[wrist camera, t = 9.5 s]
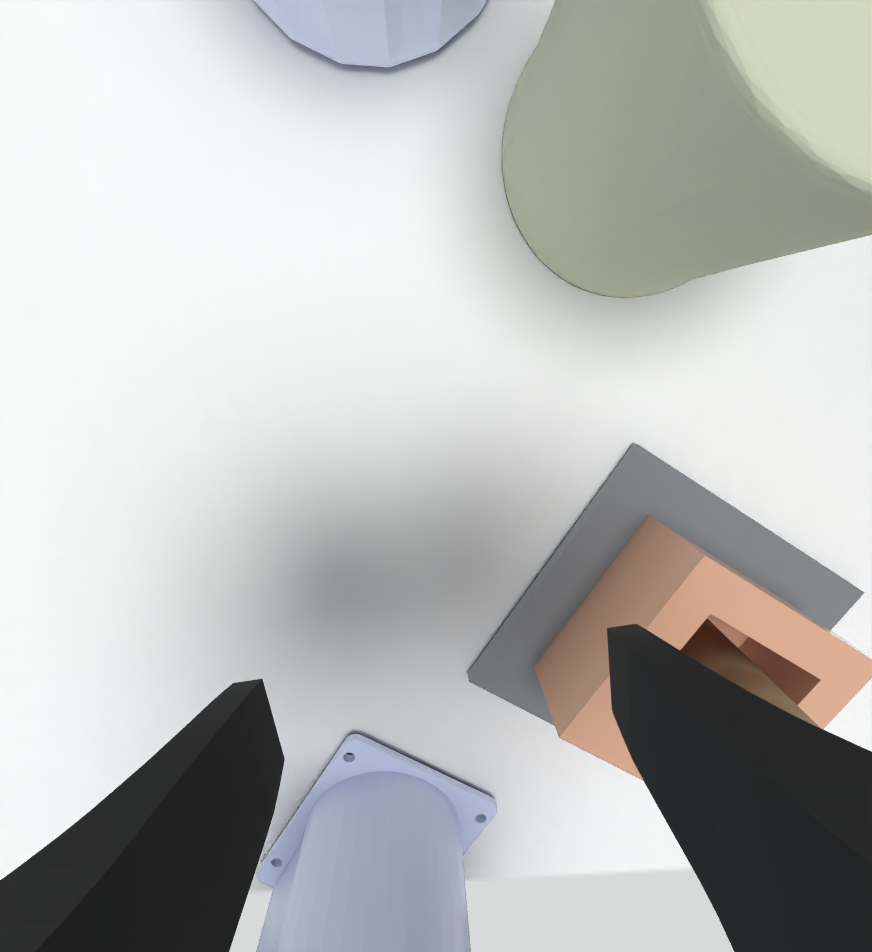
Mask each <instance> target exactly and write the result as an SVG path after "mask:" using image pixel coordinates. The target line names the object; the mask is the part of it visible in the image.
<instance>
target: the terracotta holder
mask: <svg viewBox="0 0 872 952" xmlns="http://www.w3.org/2000/svg"><path fill="white" fill-rule="evenodd" d="M863 594H864V592H863V591H861V590H860V589H858V588H857V587H855V586H854V585H852V584H851V583H849V582H848V581H846V580H844V579H843V578H841V577H840V576H838V575H837V574H835V573H834V572H832V571H831V570H829V569H828V568H826V567H825V566H823V565H821V564H820V563H818V562H817V561H815V560H814V559H812V558H811V557H809V556H808V555H806V554H805V553H803V552H802V551H800V550H798V549H797V548H795V547H794V546H792V545H791V544H789V543H788V542H786V541H785V540H783V539H782V538H780V537H779V536H777V535H776V534H774V533H772V532H771V531H769V530H768V529H766V528H765V527H763V526H762V525H760V524H759V523H757V522H756V521H754V520H753V519H751V518H749V517H748V516H746V515H745V514H743V513H742V512H740V511H739V510H737V509H736V508H734V507H733V506H731V505H730V504H728V503H726V502H725V501H723V500H722V499H720V498H719V497H717V496H716V495H714V494H713V493H711V492H710V491H708V490H707V489H705V488H703V487H702V486H700V485H699V484H697V483H696V482H694V481H693V480H691V479H690V478H688V477H687V476H685V475H684V474H682V473H680V472H679V471H677V470H676V469H674V468H673V467H671V466H670V465H668V464H667V463H665V462H664V461H662V460H661V459H659V458H658V457H656V456H654V455H653V454H651V453H650V452H648V451H647V450H645V449H644V448H642V447H641V446H639V445H637V444H634V443H633V444H632V445H631V447H630V448H629V450H628V451H627V452H626V454H625V455H624V456H623V458H622V459H621V461H620V462H619V463H618V465H617V466H616V468H615V469H614V470H613V472H612V473H611V474H610V476H609V477H608V479H607V480H606V481H605V483H604V484H603V486H602V487H601V488H600V490H599V491H598V493H597V494H596V495H595V497H594V498H593V499H592V501H591V502H590V504H589V505H588V506H587V508H586V509H585V511H584V512H583V513H582V515H581V516H580V517H579V519H578V520H577V522H576V523H575V524H574V526H573V527H572V529H571V530H570V531H569V533H568V534H567V536H566V537H565V538H564V540H563V541H562V542H561V544H560V545H559V547H558V548H557V549H556V551H555V552H554V554H553V555H552V556H551V558H550V559H549V561H548V562H547V563H546V565H545V566H544V567H543V569H542V570H541V572H540V573H539V574H538V576H537V577H536V579H535V580H534V581H533V583H532V584H531V585H530V587H529V588H528V590H527V591H526V592H525V594H524V595H523V597H522V598H521V599H520V601H519V602H518V604H517V605H516V606H515V608H514V609H513V610H512V612H511V613H510V615H509V616H508V617H507V619H506V620H505V622H504V623H503V624H502V626H501V627H500V628H499V630H498V631H497V633H496V634H495V635H494V637H493V638H492V640H491V641H490V642H489V644H488V645H487V647H486V648H485V649H484V651H483V652H482V653H481V655H480V656H479V658H478V659H477V660H476V662H475V663H474V665H473V666H472V667H471V669H470V670H469V671H468V677H469V682H471V683H473V684H475V685H477V686H479V687H481V688H483V689H485V690H487V691H489V692H491V693H493V694H494V695H496V696H498V697H500V698H502V699H504V700H506V701H508V702H510V703H512V704H514V705H516V706H518V707H520V708H522V709H524V710H525V711H527V712H529V713H531V714H533V715H535V716H537V717H539V718H541V719H543V720H545V721H547V722H549V723H551V724H553V725H555V727H556V730H557V733H558V736H559V738H561V739H563V740H565V741H567V742H569V743H571V744H573V745H575V746H577V747H579V748H580V749H582V750H584V751H586V752H588V753H590V754H592V755H594V756H596V757H598V758H600V759H602V760H604V761H606V762H608V763H610V764H612V765H614V766H616V767H618V768H620V769H621V770H623V771H625V772H627V773H629V774H631V775H633V776H635V777H637V778H639V779H641V780H643V778H642V777H641V775H640V773H639V771H638V769H637V767H636V766H635V764H634V762H633V760H632V758H631V755H630V753H629V751H628V749H627V746H626V744H625V742H624V739H623V737H622V734H621V732H620V730H619V727H618V725H617V722H616V720H615V717H614V715H613V712H612V704H611V688H610V672H609V656H608V640H607V628H610V627H617V626H624V625H630V624H638V625H639V626H641V627H643V628H645V629H646V630H648V631H650V632H651V633H653V634H654V635H656V636H658V637H659V638H661V639H662V640H664V641H666V642H667V643H669V644H670V645H672V646H674V647H675V648H677V649H678V650H681V649H682V648H683V646H684V645H685V644H686V643H687V642H688V640H689V639H690V638H691V637H692V636H693V634H694V633H695V632H696V631H697V629H698V628H699V627H700V626H701V625H702V623H703V622H704V621H705V620H706V619H707V618H708V619H709V620H710V621H711V622H712V623H713V624H714V625H715V626H716V627H717V628H718V629H719V630H720V631H721V632H722V633H723V634H724V635H725V636H726V637H727V638H728V639H729V640H730V641H731V642H732V643H733V644H734V645H735V646H737V647H738V648H739V649H740V650H741V651H742V652H743V653H744V654H745V655H746V656H747V657H748V658H749V659H750V660H751V661H752V662H753V663H754V664H755V665H756V666H757V667H758V668H759V669H760V670H761V671H762V672H763V673H764V674H765V675H766V676H767V677H769V678H770V679H771V680H772V681H773V682H774V683H775V684H776V685H777V686H778V687H779V688H780V689H781V690H782V691H783V692H784V693H785V694H786V695H787V696H788V697H789V698H790V699H791V700H792V701H793V702H794V703H795V704H796V705H797V706H798V707H799V708H801V709H802V710H803V711H804V712H805V713H806V714H807V715H808V716H809V717H810V718H811V719H812V720H813V721H814V722H815V723H816V724H817V725H818V726H819V727H820V728H821V729H824V728H825V727H826V726H827V725H828V724H829V722H830V721H831V720H832V719H833V718H834V717H835V716H836V715H837V714H838V713H839V712H840V711H841V710H842V709H843V708H844V707H845V706H846V704H847V703H848V702H849V701H850V700H851V699H852V698H853V697H854V696H855V695H856V694H857V693H858V692H859V691H860V690H861V689H862V688H863V687H864V685H865V684H866V683H867V682H868V681H869V680H870V679H871V678H872V659H871V658H870V657H868V656H867V655H865V654H864V653H863V652H861V651H860V650H858V649H857V648H855V647H854V646H852V645H851V644H849V643H848V642H847V641H845V640H844V639H842V638H841V637H839V636H838V635H836V634H835V633H833V632H832V631H831V629H832V628H833V627H834V626H835V625H836V624H837V623H838V621H839V620H840V619H841V618H842V617H843V616H844V615H845V614H846V613H847V611H848V610H849V609H850V608H851V607H852V606H853V605H854V604H855V603H856V601H857V600H858V599H859V598H860V597H861V596H862V595H863ZM643 781H644V780H643Z"/></svg>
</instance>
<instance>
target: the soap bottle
mask: <svg viewBox="0 0 872 952" xmlns="http://www.w3.org/2000/svg"><path fill="white" fill-rule="evenodd" d="M486 1H487V0H254V2H255V3H256V4H257V5H258V6H259V7H260V8H261V9H262V10H263V11H264V12H265V13H266V14H267V15H268V16H269V17H270V18H271V19H272V20H273V21H274V22H275V23H276V24H277V25H278V26H279V27H280V29H281V30H282V31H283V32H284V33H285V34H286V35H287V36H288V37H289V38H290V39H292V40H294V41H296V42H298V43H300V44H302V45H304V46H306V47H308V48H310V49H312V50H314V51H316V52H318V53H320V54H322V55H324V56H326V57H328V58H330V59H332V60H334V61H336V62H338V63H340V64H351V65H364V66H378V67H393V66H396V65H398V64H401V63H404V62H407V61H410V60H413V59H415V58H418V57H421V56H424V55H427V54H430V53H432V52H435V51H437V50H439V49H440V48H441V47H442V46H443V45H445V44H446V43H447V42H448V41H449V40H450V39H451V38H452V37H454V36H455V35H456V34H457V33H458V32H459V31H460V30H461V29H463V28H464V27H465V26H466V25H467V24H468V23H469V22H470V21H472V20H473V19H474V18H475V17H476V16H477V15H478V14H479V13H480V12H481V10H482V8H483V6H484V5H485V3H486Z"/></svg>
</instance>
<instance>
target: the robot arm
mask: <svg viewBox="0 0 872 952" xmlns="http://www.w3.org/2000/svg"><path fill="white" fill-rule="evenodd" d="M607 640H608V656H609V672H610V688H611V704H612V712H613V715H614V717H615V720H616V722H617V725H618V727H619V730H620V732H621V734H622V737H623V739H624V742H625V744H626V746H627V749H628V751H629V753H630V755H631V758H632V760H633V762H634V764H635V766H636V767H637V769H638V771H639V773H640V775H641V777H642V778H643V780H644V782H645V784H646V786H647V787H648V789H649V791H650V793H651V795H652V797H653V798H654V800H655V802H656V804H657V805H658V807H659V809H660V811H661V813H662V814H663V816H664V818H665V820H666V822H667V823H668V825H669V827H670V829H671V830H672V832H673V834H674V836H675V838H676V839H677V841H678V843H679V845H680V846H681V848H682V850H683V852H684V854H685V855H686V857H687V859H688V861H689V863H690V864H691V866H692V868H693V870H694V871H695V873H696V875H697V877H698V879H699V880H700V882H701V884H702V886H703V888H704V890H705V892H706V894H707V895H708V898H709V899H710V901H711V903H712V905H713V907H714V909H715V911H716V913H717V915H718V917H719V919H720V922H721V924H722V926H723V928H724V930H725V932H726V935H727V937H728V939H729V941H730V943H731V945H732V947H733V950H734V952H872V752H871V751H869V750H866V749H864V748H862V747H860V746H858V745H855V744H853V743H851V742H849V741H847V740H845V739H842V738H840V737H838V736H836V735H834V734H831V733H829V732H827V731H825V730H823V729H821V728H818V727H816V726H814V725H812V724H810V723H808V722H806V721H804V720H802V719H800V718H798V717H796V716H794V715H792V714H790V713H788V712H786V711H784V710H782V709H781V708H779V707H777V706H775V705H773V704H771V703H769V702H768V701H766V700H764V699H762V698H760V697H758V696H756V695H754V694H753V693H751V692H749V691H747V690H745V689H744V688H742V687H740V686H738V685H737V684H735V683H733V682H731V681H730V680H728V679H726V678H724V677H723V676H721V675H719V674H718V673H716V672H714V671H713V670H711V669H709V668H708V667H706V666H704V665H703V664H701V663H699V662H698V661H696V660H694V659H693V658H691V657H690V656H688V655H686V654H685V653H683V652H682V651H680V650H678V649H677V648H675V647H674V646H672V645H670V644H669V643H667V642H666V641H664V640H662V639H661V638H659V637H658V636H656V635H654V634H653V633H651V632H650V631H648V630H646V629H645V628H643V627H641V626H639V625H638V624H630V625H624V626H617V627H610V628H607ZM346 753H353V755H347V754H346ZM283 765H284V755H283V752H282V748H281V745H280V741H279V737H278V734H277V730H276V726H275V723H274V719H273V716H272V712H271V708H270V705H269V701H268V698H267V694H266V690H265V687H264V683H263V680H262V679H258V680H251V681H245V682H238V683H233V684H232V685H231V686H229V687H228V688H227V689H226V690H224V691H223V692H222V693H221V694H220V695H219V696H218V697H217V698H215V699H214V700H213V701H212V702H211V703H210V704H209V705H208V706H207V707H206V708H205V709H203V710H202V711H201V712H200V713H199V714H198V715H197V716H196V717H195V718H194V719H193V720H192V721H191V722H190V723H188V724H187V725H186V726H185V727H184V728H183V729H182V730H181V731H180V732H179V733H178V734H177V735H176V736H174V737H173V738H172V739H171V740H170V741H169V742H168V743H167V744H166V745H165V746H164V747H163V748H161V749H160V750H159V751H158V752H157V753H156V754H155V755H154V756H153V757H152V758H151V759H150V760H148V761H147V762H146V763H145V764H144V765H143V766H142V767H140V768H139V769H138V770H137V771H136V772H135V773H134V774H132V775H131V776H130V777H129V778H128V779H127V780H125V781H124V782H123V783H122V784H121V785H120V786H119V787H117V788H116V789H115V790H114V791H113V792H112V793H110V794H109V795H108V796H107V797H106V798H105V799H104V800H102V801H101V802H100V803H99V804H98V805H97V806H95V807H94V808H93V809H92V810H91V811H90V812H88V813H87V814H86V815H85V816H83V817H82V818H81V819H80V820H79V821H77V822H76V823H75V824H74V825H72V826H71V827H70V828H69V829H67V830H66V831H65V832H64V833H62V834H61V835H60V836H59V837H57V838H56V839H55V840H53V841H52V842H51V843H49V844H48V845H47V846H46V847H44V848H43V849H42V850H40V851H39V852H38V853H36V854H35V855H34V856H32V857H31V858H30V859H29V860H27V861H26V862H25V863H23V864H22V865H21V866H19V867H18V868H17V869H15V870H14V871H13V872H11V873H10V874H8V875H7V876H6V877H4V878H3V879H1V880H0V952H229V950H230V947H231V943H232V941H233V938H234V935H235V931H236V928H237V925H238V922H239V919H240V916H241V913H242V910H243V907H244V904H245V901H246V897H247V895H248V892H249V889H250V886H251V883H252V880H253V876H254V873H255V870H256V867H257V864H258V861H259V858H260V855H261V852H262V849H263V846H264V842H265V839H266V836H267V833H268V830H269V827H270V824H271V820H272V817H273V814H274V810H275V805H276V800H277V796H278V791H279V786H280V781H281V775H282V770H283ZM496 812H497V805H496V801H495V799H493V798H492V797H490V796H488V795H486V794H484V793H482V792H480V791H478V790H476V789H474V788H471V787H469V786H467V785H465V784H463V783H461V782H459V781H457V780H455V779H452V778H450V777H448V776H446V775H444V774H442V773H440V772H438V771H436V770H433V769H431V768H429V767H427V766H425V765H423V764H421V763H419V762H417V761H415V760H412V759H410V758H408V757H406V756H404V755H402V754H400V753H398V752H396V751H393V750H391V749H389V748H387V747H385V746H383V745H381V744H379V743H377V742H374V741H372V740H370V739H368V738H366V737H364V736H362V735H359V734H352V735H350V736H348V737H347V738H346V739H345V741H344V742H343V744H342V745H341V746H340V748H339V749H338V751H337V752H336V754H335V755H334V757H333V758H332V760H331V761H330V763H329V764H328V766H327V767H326V769H325V770H324V772H323V773H322V774H321V776H320V777H319V779H318V780H317V782H316V783H315V785H314V786H313V788H312V789H311V791H310V792H309V794H308V795H307V797H306V798H305V800H304V801H303V802H302V804H301V805H300V807H299V808H298V810H297V811H296V813H295V814H294V816H293V817H292V819H291V820H290V822H289V823H288V825H287V826H286V828H285V829H284V830H283V832H282V833H281V835H280V836H279V838H278V839H277V841H276V842H275V844H274V845H273V847H272V848H271V850H270V851H269V853H268V854H267V856H266V857H265V858H264V860H263V861H262V863H261V864H260V866H259V869H258V872H257V878H258V880H259V881H260V882H262V883H264V884H266V885H269V886H271V887H274V888H273V892H272V895H271V899H270V903H269V907H268V910H267V914H266V918H265V921H264V925H263V929H262V933H261V936H260V940H259V944H258V947H257V951H256V952H471V949H470V937H469V926H468V914H467V902H466V890H465V879H464V867H463V854H464V853H465V852H466V851H467V849H468V848H469V847H470V846H471V844H472V843H473V842H474V841H475V839H476V838H477V837H478V836H479V834H480V833H481V832H482V831H483V829H484V828H485V827H486V826H487V824H488V823H489V822H490V821H491V819H492V818H493V817H494V816H495V814H496ZM479 814H482V815H479Z"/></svg>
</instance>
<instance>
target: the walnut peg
mask: <svg viewBox="0 0 872 952" xmlns="http://www.w3.org/2000/svg"><path fill="white" fill-rule="evenodd" d="M680 651H682V652H683V653H685V654H686V655H688V656H690V657H691V658H693V659H694V660H696V661H698V662H699V663H701V664H703V665H704V666H706V667H708V668H709V669H711V670H713V671H714V672H716V673H718V674H719V675H721V676H723V677H724V678H726V679H728V680H730V681H731V682H733V683H735V684H737V685H738V686H740V687H742V688H744V689H745V690H747V691H749V692H751V693H753V694H754V695H756V696H758V697H760V698H762V699H764V700H766V701H768V702H769V703H771V704H773V705H775V706H777V707H779V708H781V709H782V710H784V711H786V712H788V713H790V714H792V715H794V716H796V717H798V718H800V719H802V720H804V721H806V722H808V723H810V724H812V725H814V726H816V727H818V728H820V727H819V726H818V725H817V724H816V723H815V722H814V721H813V720H812V719H811V718H810V717H809V716H808V715H807V714H806V713H805V712H804V711H803V710H802V709H801V708H799V707H798V706H797V705H796V704H795V703H794V702H793V701H792V700H791V699H790V698H789V697H788V696H787V695H786V694H785V693H784V692H783V691H782V690H781V689H780V688H779V687H778V686H777V685H776V684H775V683H774V682H773V681H772V680H771V679H770V678H769V677H767V676H766V675H765V674H764V673H763V672H762V671H761V670H760V669H759V668H758V667H757V666H756V665H755V664H754V663H753V662H752V661H751V660H750V659H749V658H748V657H747V656H746V655H745V654H744V653H743V652H742V651H741V650H740V649H739V648H738V647H737V646H735V645H734V644H733V643H732V642H731V641H730V640H729V639H728V638H727V637H726V636H725V635H724V634H723V633H722V632H721V631H720V630H719V629H718V628H717V627H716V626H715V625H714V624H713V623H712V622H711V621H710V620H709V619H708V618H707V619H706V620H705V621H704V622H703V623H702V625H701V626H700V627H699V628H698V629H697V631H696V632H695V633H694V634H693V636H692V637H691V638H690V639H689V640H688V642H687V643H686V644H685V645H684V646H683V648H682V649H681V650H680Z"/></svg>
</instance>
